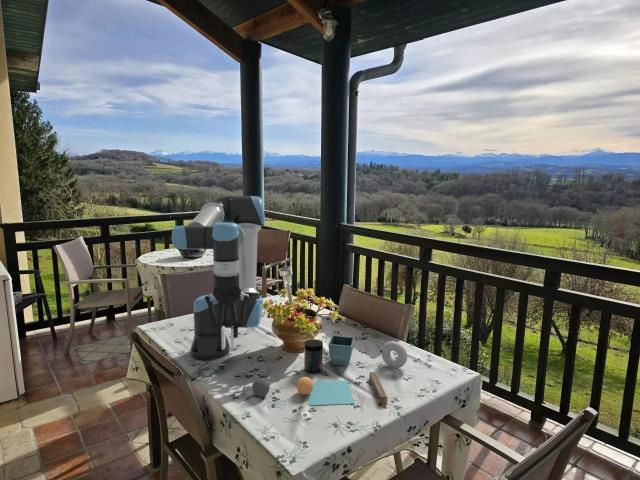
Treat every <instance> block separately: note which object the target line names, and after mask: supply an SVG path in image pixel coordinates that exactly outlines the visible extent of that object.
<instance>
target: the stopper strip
mask: <svg viewBox="0 0 640 480" xmlns="http://www.w3.org/2000/svg"><path fill="white" fill-rule="evenodd" d="M369 381H370V383H371V385H372V389H373V390H374V393H375V396H376V397H377V399H378V402H379V404H380V405H388V395H387V393H386V391H385V389H384V387H383V385H382V383H381V381H380V379H379V377H378V375H377V373H376V372H375V371H370V372H369Z"/></svg>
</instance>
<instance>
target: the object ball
mask: <svg viewBox="0 0 640 480" xmlns="http://www.w3.org/2000/svg"><path fill="white" fill-rule="evenodd" d="M313 382H314V381H313V380H312V379H311V378H310V377H308V376H302V377H300V378H299V379H298V380H297V382H296V390H297V392H298V393H299V394H301V395H303V396H308V394H309V393H311V392H312V390H313Z"/></svg>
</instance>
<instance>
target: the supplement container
mask: <svg viewBox="0 0 640 480" xmlns="http://www.w3.org/2000/svg"><path fill="white" fill-rule="evenodd" d="M303 344H304V346H303V348H304V350H303V351H304V354H303V355H304V358H303V359H304V363H303V364H304V367H303V369H304V371H305V372H306V373H308V374H310V375H314V374H316V375H317V374H319V373H321V372H322V371H323V363H324V362H323V359H324V358H323V356H324V355H323V354H324V353H323V350H324V342H323V341H322V340H320V339H307V340H305V341H304V343H303Z"/></svg>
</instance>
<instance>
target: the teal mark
mask: <svg viewBox="0 0 640 480" xmlns="http://www.w3.org/2000/svg"><path fill="white" fill-rule="evenodd" d="M312 382H313V390H312V392H311V393H309V394H307V396H308V404H309V405H308V406H310V407H313V406H331V405H333V406H334V405H335V406H336V405H337V406H338V405H355V404H356V403H355V400H354V396H353V393H352V390H351V388H350V385H349V381H348V380H332V381H331V380H330V381H329V380H328V381H327V380H325V381H312Z"/></svg>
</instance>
